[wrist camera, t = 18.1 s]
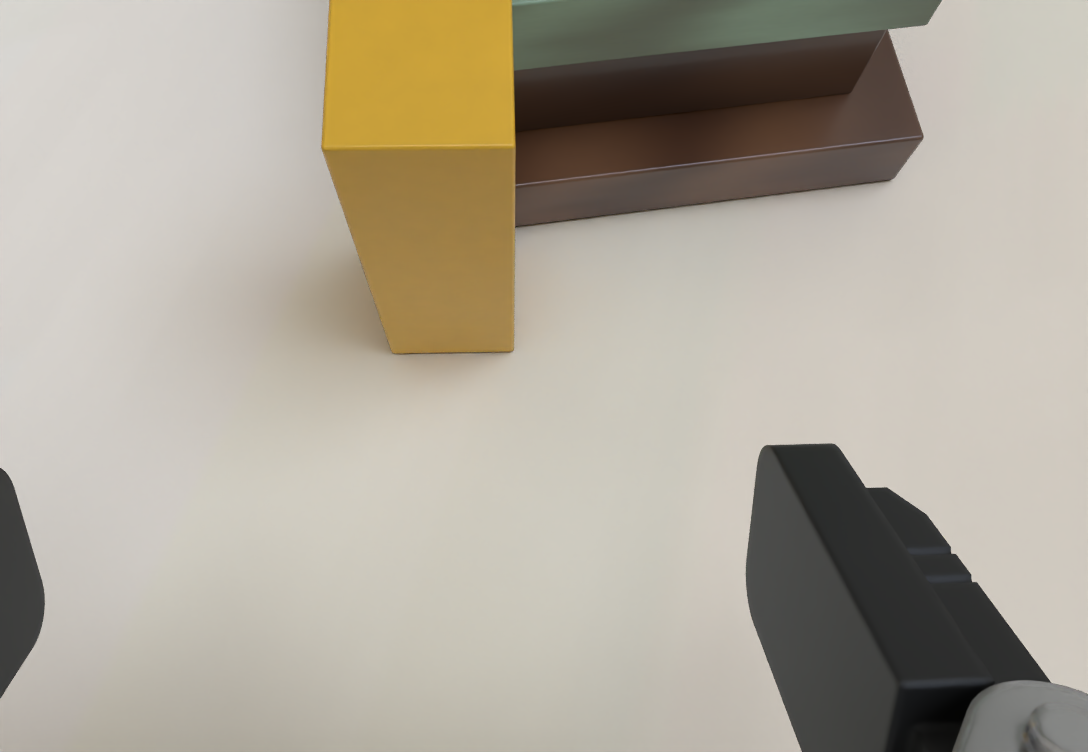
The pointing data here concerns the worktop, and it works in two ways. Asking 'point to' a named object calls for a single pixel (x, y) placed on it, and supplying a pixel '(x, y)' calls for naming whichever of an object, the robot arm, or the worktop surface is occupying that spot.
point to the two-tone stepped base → (704, 100)
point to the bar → (427, 164)
